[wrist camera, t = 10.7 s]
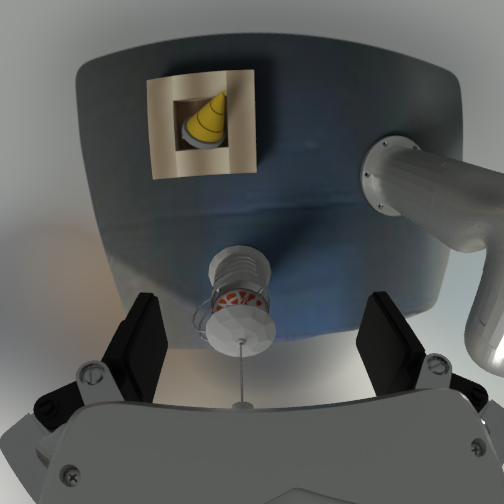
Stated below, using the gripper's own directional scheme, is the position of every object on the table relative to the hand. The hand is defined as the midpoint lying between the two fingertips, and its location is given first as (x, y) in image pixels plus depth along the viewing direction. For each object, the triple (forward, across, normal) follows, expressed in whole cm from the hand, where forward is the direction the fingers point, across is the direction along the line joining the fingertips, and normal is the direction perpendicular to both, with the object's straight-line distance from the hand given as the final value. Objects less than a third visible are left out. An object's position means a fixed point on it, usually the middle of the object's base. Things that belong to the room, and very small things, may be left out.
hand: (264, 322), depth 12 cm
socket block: (+28, +6, -9) cm, 30 cm away
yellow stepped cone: (+27, +6, -8) cm, 29 cm away
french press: (+28, +3, +14) cm, 32 cm away
